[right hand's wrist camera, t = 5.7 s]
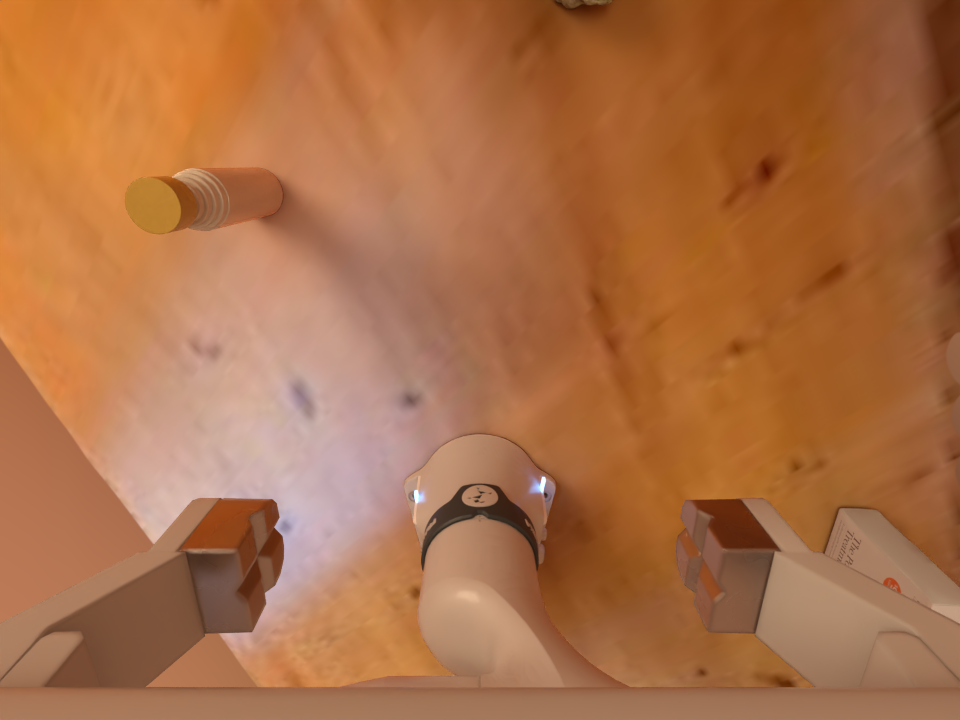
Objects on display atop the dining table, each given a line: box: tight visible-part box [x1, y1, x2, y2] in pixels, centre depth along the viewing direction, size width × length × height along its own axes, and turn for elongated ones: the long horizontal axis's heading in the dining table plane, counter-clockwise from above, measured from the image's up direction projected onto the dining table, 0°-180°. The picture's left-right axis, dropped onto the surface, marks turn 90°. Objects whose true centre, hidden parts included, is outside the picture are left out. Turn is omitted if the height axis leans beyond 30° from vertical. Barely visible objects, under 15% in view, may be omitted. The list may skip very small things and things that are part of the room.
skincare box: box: [825, 508, 960, 623], centre depth 63 cm, size 21×6×16 cm, turn 178°
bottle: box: [173, 167, 283, 231], centre depth 46 cm, size 5×5×18 cm
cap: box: [125, 176, 197, 234], centre depth 38 cm, size 4×4×2 cm
